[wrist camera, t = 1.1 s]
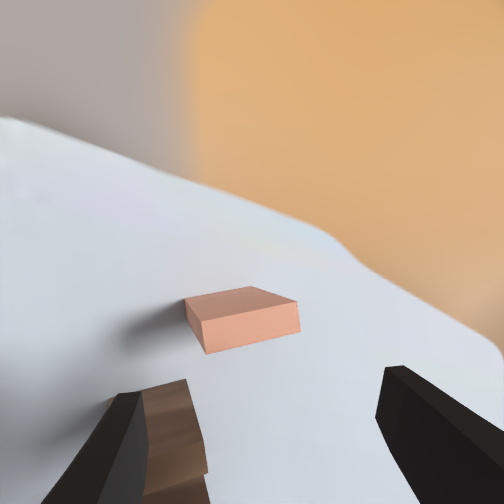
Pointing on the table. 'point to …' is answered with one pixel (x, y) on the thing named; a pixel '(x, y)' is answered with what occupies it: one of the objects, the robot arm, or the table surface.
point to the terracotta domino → (240, 318)
